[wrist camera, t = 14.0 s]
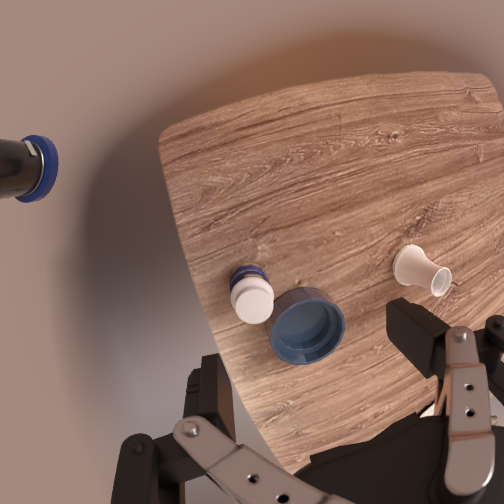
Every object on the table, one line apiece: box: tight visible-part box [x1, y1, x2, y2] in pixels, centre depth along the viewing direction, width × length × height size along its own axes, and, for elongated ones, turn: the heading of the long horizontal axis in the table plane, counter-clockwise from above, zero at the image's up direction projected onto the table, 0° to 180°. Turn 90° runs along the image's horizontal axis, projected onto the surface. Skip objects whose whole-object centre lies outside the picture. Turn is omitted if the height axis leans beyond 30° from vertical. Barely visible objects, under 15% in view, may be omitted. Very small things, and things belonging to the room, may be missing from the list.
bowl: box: [266, 287, 345, 365], centre depth 43 cm, size 12×12×5 cm
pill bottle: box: [230, 263, 274, 324], centre depth 38 cm, size 6×6×10 cm
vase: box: [393, 245, 451, 297], centre depth 40 cm, size 8×8×10 cm
